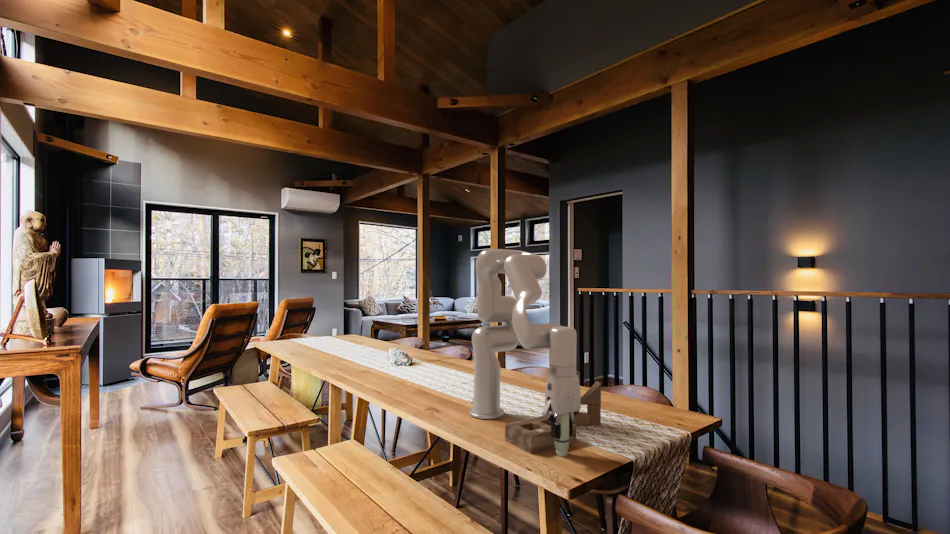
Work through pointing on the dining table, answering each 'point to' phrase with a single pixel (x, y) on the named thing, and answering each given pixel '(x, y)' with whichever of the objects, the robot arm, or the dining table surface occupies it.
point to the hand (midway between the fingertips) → (561, 435)
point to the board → (533, 434)
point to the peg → (563, 436)
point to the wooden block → (590, 406)
